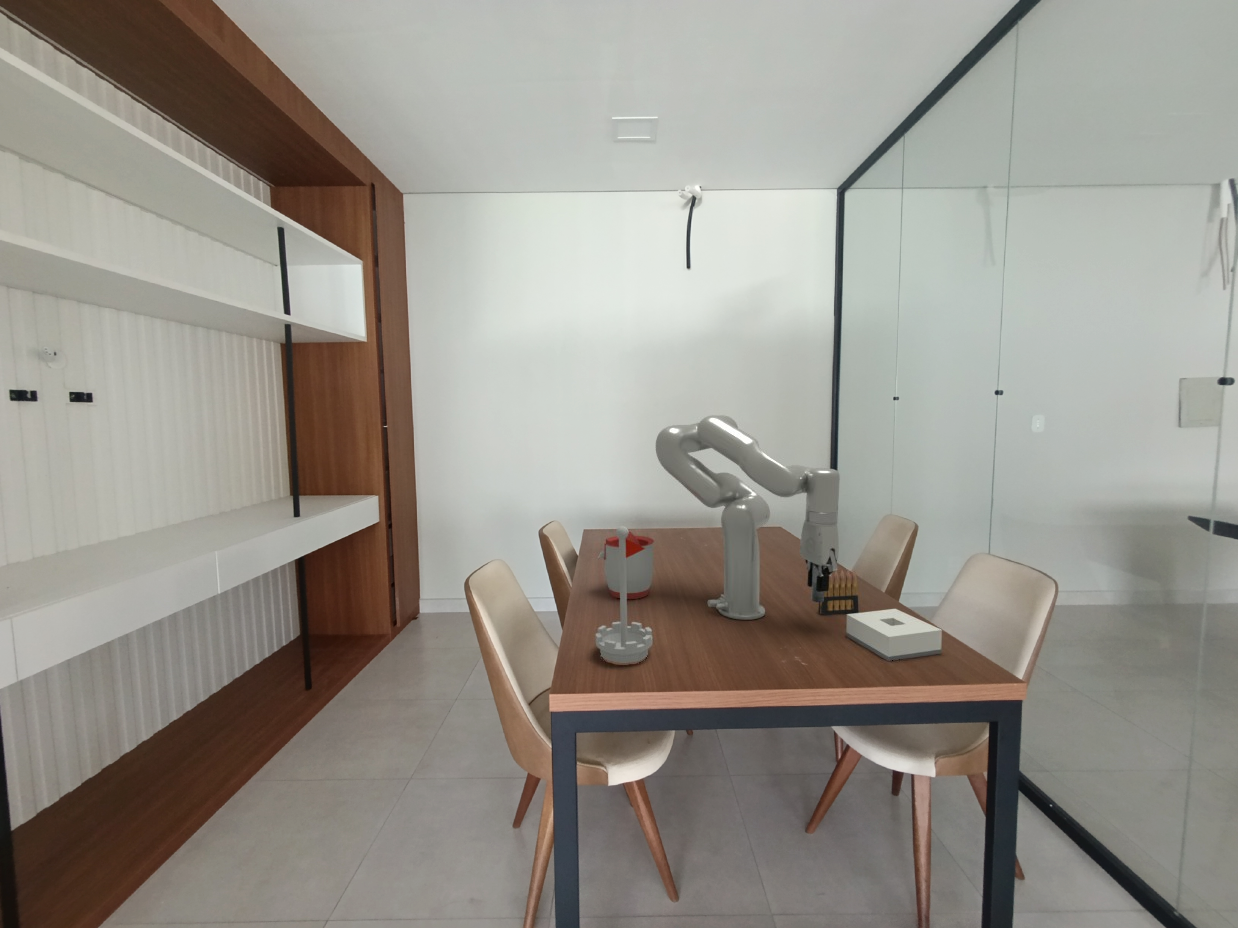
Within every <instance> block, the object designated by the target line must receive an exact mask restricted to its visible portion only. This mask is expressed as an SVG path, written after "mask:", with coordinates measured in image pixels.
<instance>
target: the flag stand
mask: <svg viewBox="0 0 1238 928" xmlns="http://www.w3.org/2000/svg"><path fill="white" fill-rule="evenodd" d="M629 531H630V530H629V529H628V528H627V527H626V526H624V525H620V526H618V527H617V528H616V530H615V535H616V536H617V537H618V538H619V567H620V599H619V602H620V603H619V611H620V614H619V615H620V617H619V618H620V621H613V622H612V623H611V627H608V628H607V625H601V626H599V627H598V628H597V633H595V645H596V647H597V648H598V649H599V652H600V653H601V655H600V657H601V656H602V657H603V658H605V659H607V660H610V661H613V662H619V663H629V662H630V663H631V662H637V661H640V660H642V659H644V658H645V657H647V655H648V656H649V648H651V647H652V645H653V630H652V628H651V627H650V626H647V627H644V628H643V623H640V622H636V621H632V622H631V623H630V624H631V625H628V605H627V604H628V603H627V601H628V599H627V589H626V558H627V557H630V556H632V555H634V554H636V553H638V552H640V551H642V550H644V549H645V548H643V547H641V546H639V545H637V544H635V543H633V542H631V541H629V540H627V539H626V537H627V536H628V534H629ZM647 658H648V657H647Z"/></svg>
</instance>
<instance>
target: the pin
mask: <svg viewBox="0 0 1238 928" xmlns="http://www.w3.org/2000/svg"><path fill="white" fill-rule="evenodd" d="M825 568H826V567H823V570H824V569H825ZM817 576H819V565H817V564H814V563H813V570H812V587H811V594H810V601H812V602H814V603H819V602H823V601H824V591H823V592H818V591H816V582H817Z"/></svg>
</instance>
